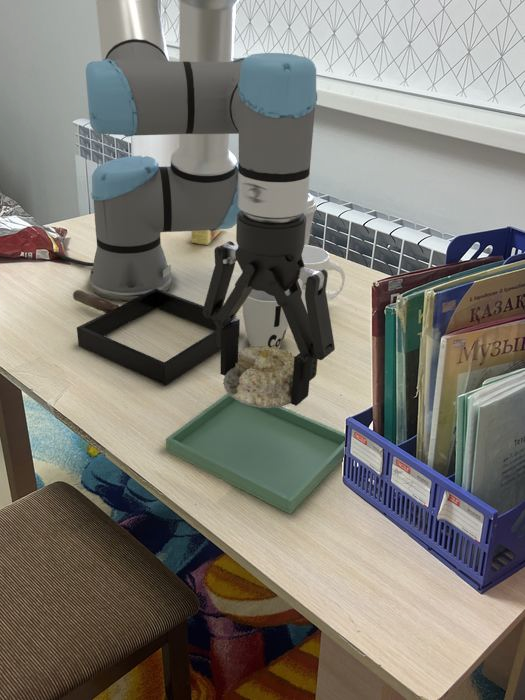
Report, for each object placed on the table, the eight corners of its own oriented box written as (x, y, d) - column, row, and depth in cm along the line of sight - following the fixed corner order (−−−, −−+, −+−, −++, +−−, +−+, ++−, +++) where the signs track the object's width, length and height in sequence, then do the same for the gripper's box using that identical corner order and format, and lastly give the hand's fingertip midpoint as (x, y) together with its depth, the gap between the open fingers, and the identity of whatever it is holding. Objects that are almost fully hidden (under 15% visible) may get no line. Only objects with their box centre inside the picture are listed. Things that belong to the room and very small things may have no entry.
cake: (293, 366, 91) (300, 330, 88) (310, 411, 82) (317, 373, 80) (218, 364, 89) (222, 328, 86) (227, 410, 80) (232, 372, 78)
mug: (347, 318, 124) (354, 263, 118) (281, 320, 122) (285, 264, 116) (336, 296, 131) (341, 243, 125) (273, 298, 129) (276, 245, 124)
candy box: (204, 229, 158) (204, 162, 150) (222, 231, 157) (222, 164, 150) (190, 243, 151) (189, 173, 143) (209, 245, 150) (209, 176, 142)
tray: (166, 450, 90) (165, 438, 89) (235, 398, 101) (236, 386, 100) (290, 514, 81) (291, 501, 80) (352, 449, 92) (353, 437, 91)
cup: (273, 362, 110) (276, 306, 104) (230, 347, 113) (231, 292, 108) (298, 341, 116) (302, 287, 110) (257, 328, 119) (259, 275, 114)
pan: (34, 326, 117) (31, 307, 115) (113, 289, 130) (112, 272, 128) (165, 386, 103) (164, 366, 101) (239, 337, 116) (240, 319, 114)
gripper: (169, 197, 77) (174, 367, 88) (347, 247, 66) (326, 433, 77) (211, 182, 82) (210, 344, 93) (382, 226, 72) (358, 403, 83)
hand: (263, 384), depth 85 cm, fingers closed on cake, 10 cm apart
